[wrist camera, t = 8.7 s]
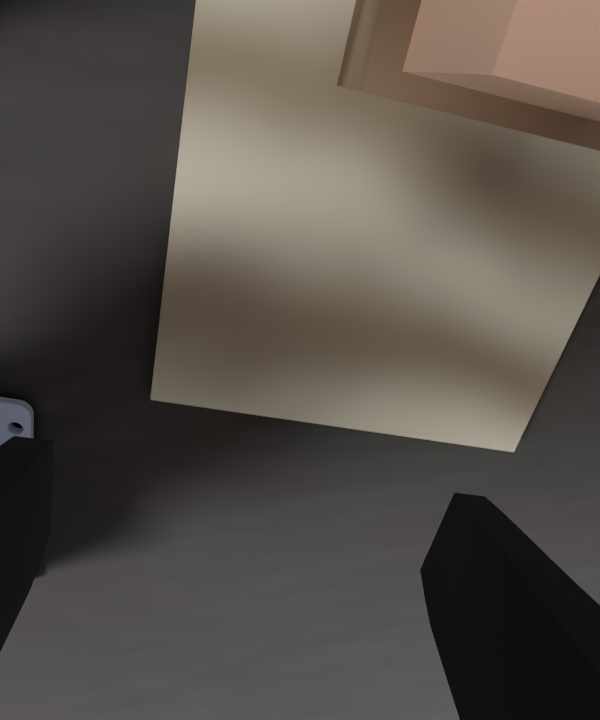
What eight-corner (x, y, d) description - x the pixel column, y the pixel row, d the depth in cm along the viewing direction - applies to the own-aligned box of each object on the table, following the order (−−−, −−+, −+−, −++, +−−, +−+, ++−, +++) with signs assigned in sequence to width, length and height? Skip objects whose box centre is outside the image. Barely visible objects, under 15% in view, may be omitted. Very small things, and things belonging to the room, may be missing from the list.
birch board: (507, 443, 22) (513, 452, 22) (153, 391, 20) (150, 399, 20) (822, -221, 13) (845, -234, 13) (250, -450, 11) (250, -477, 11)
